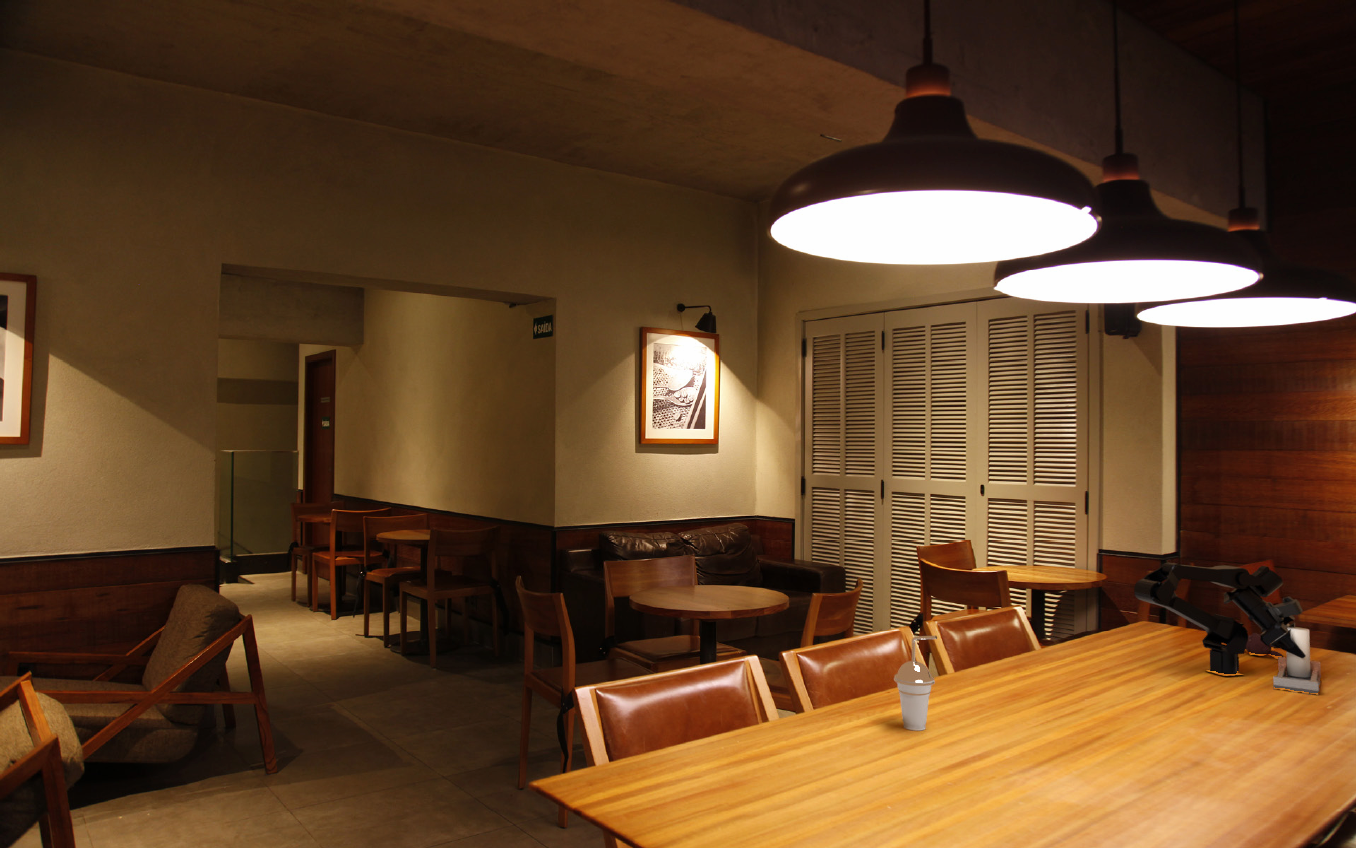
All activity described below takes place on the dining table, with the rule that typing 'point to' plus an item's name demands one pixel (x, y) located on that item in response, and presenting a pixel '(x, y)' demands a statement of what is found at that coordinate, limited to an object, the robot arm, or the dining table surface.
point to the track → (1298, 678)
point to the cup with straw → (914, 690)
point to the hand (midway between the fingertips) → (1305, 654)
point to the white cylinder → (1295, 663)
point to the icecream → (1259, 646)
